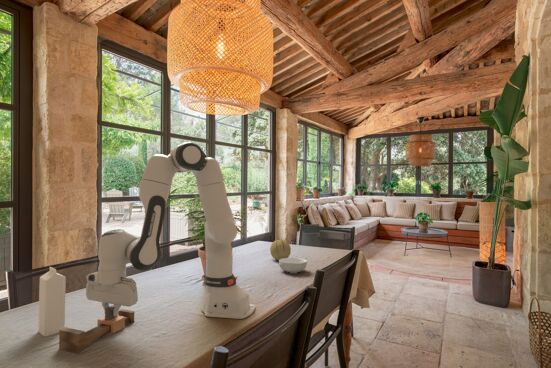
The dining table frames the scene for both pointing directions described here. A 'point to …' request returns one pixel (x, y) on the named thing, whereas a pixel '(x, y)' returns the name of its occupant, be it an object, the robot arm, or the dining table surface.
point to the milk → (51, 303)
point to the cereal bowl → (292, 264)
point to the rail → (88, 334)
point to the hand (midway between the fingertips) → (111, 314)
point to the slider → (112, 320)
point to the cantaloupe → (280, 249)
